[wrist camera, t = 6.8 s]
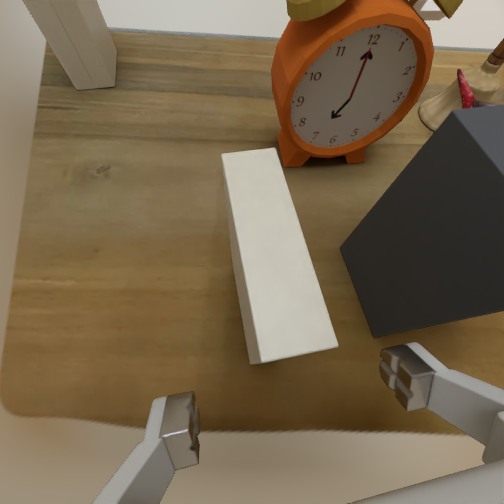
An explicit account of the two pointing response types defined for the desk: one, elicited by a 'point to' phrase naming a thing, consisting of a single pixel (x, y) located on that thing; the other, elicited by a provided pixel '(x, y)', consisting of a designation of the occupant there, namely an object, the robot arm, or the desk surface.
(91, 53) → the white books
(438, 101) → the hand bell
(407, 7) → the alarm clock
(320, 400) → the desk surface
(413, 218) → the grey books
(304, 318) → the white book
